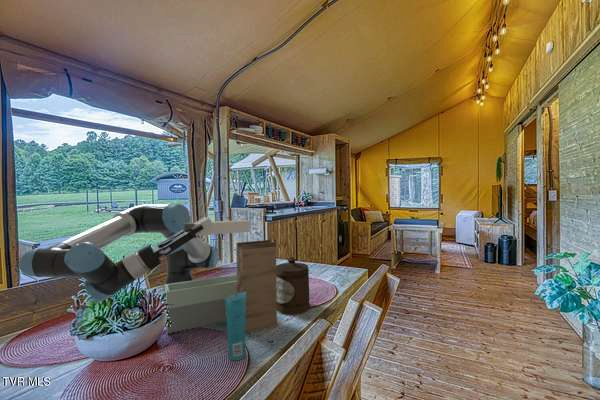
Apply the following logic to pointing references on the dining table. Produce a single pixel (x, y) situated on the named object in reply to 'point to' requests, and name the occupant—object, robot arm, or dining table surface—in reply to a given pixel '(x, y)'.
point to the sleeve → (221, 227)
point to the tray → (198, 302)
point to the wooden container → (292, 287)
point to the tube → (236, 324)
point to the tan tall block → (258, 283)
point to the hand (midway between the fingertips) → (209, 220)
